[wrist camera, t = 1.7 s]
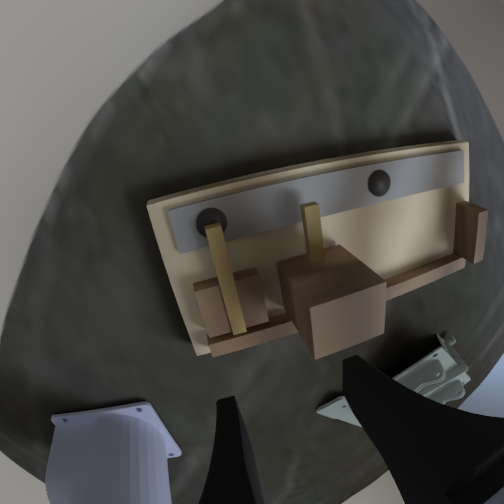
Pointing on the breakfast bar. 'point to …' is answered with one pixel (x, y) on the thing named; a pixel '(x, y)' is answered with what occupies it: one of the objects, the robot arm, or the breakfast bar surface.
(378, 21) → the breakfast bar surface
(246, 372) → the breakfast bar surface
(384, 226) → the gauge board
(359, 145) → the breakfast bar surface
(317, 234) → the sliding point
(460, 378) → the metal bracket
